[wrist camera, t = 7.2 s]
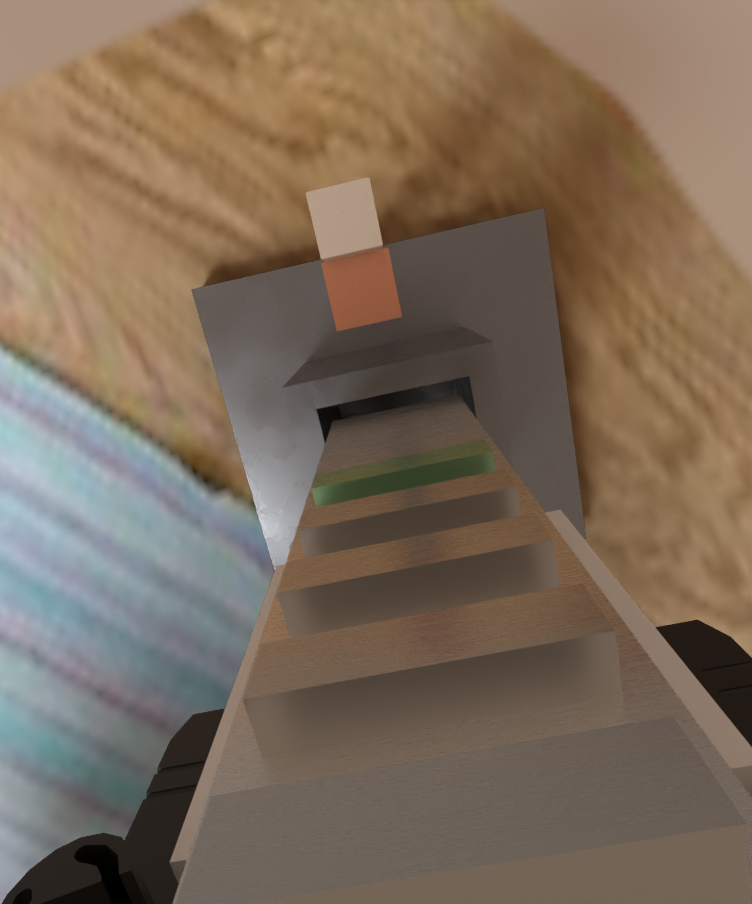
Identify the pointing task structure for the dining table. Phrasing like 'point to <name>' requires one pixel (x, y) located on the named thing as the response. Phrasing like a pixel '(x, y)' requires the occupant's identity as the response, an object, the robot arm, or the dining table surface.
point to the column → (456, 707)
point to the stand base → (392, 349)
